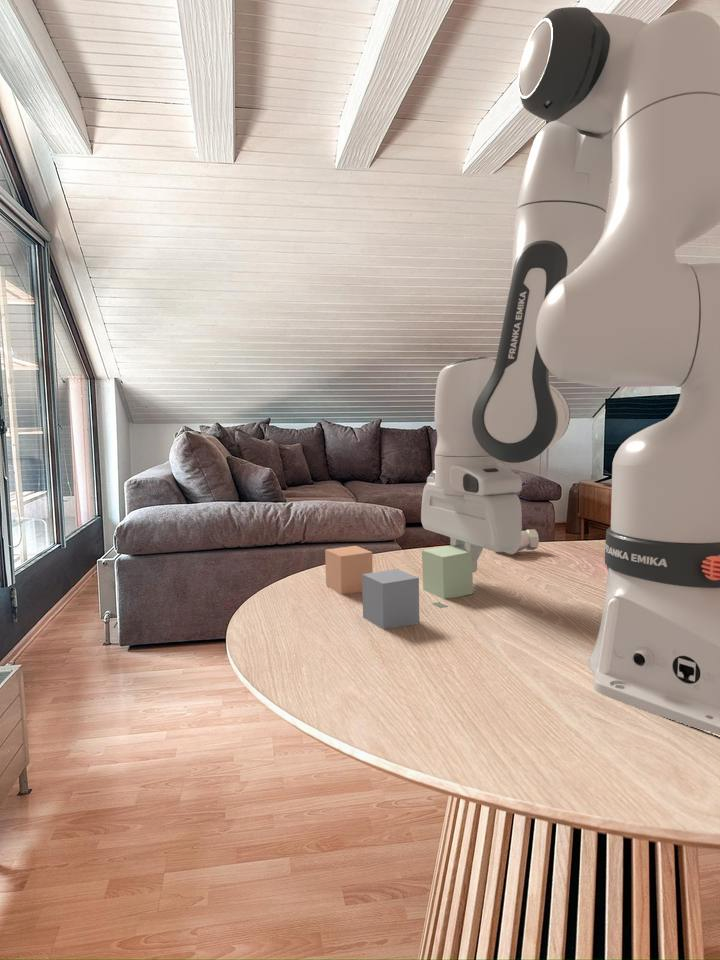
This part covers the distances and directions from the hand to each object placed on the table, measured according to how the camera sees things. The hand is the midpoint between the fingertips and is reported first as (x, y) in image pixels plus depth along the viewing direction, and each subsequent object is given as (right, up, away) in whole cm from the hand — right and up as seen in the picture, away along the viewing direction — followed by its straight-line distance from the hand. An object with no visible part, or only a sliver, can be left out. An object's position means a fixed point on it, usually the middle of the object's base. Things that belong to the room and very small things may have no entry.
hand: (466, 570), depth 92 cm
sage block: (-3, -3, -1) cm, 4 cm away
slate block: (-12, -5, -14) cm, 19 cm away
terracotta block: (-17, -3, 0) cm, 17 cm away
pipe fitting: (+14, +1, +20) cm, 24 cm away
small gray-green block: (-5, -4, -8) cm, 10 cm away
